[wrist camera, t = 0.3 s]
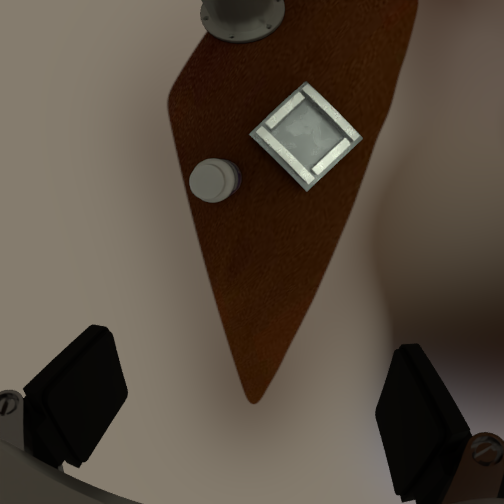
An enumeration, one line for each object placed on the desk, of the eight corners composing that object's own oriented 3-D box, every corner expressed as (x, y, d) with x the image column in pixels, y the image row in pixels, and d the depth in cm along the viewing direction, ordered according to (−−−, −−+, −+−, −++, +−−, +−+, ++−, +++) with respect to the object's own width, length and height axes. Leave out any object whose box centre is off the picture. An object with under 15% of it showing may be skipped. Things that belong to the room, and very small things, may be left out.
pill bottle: (205, 197, 42) (184, 206, 33) (204, 160, 41) (182, 159, 32) (242, 196, 42) (230, 205, 33) (241, 158, 40) (229, 156, 31)
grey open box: (253, 138, 39) (246, 132, 32) (303, 90, 37) (307, 75, 29) (304, 188, 41) (308, 193, 33) (353, 141, 38) (368, 136, 31)
